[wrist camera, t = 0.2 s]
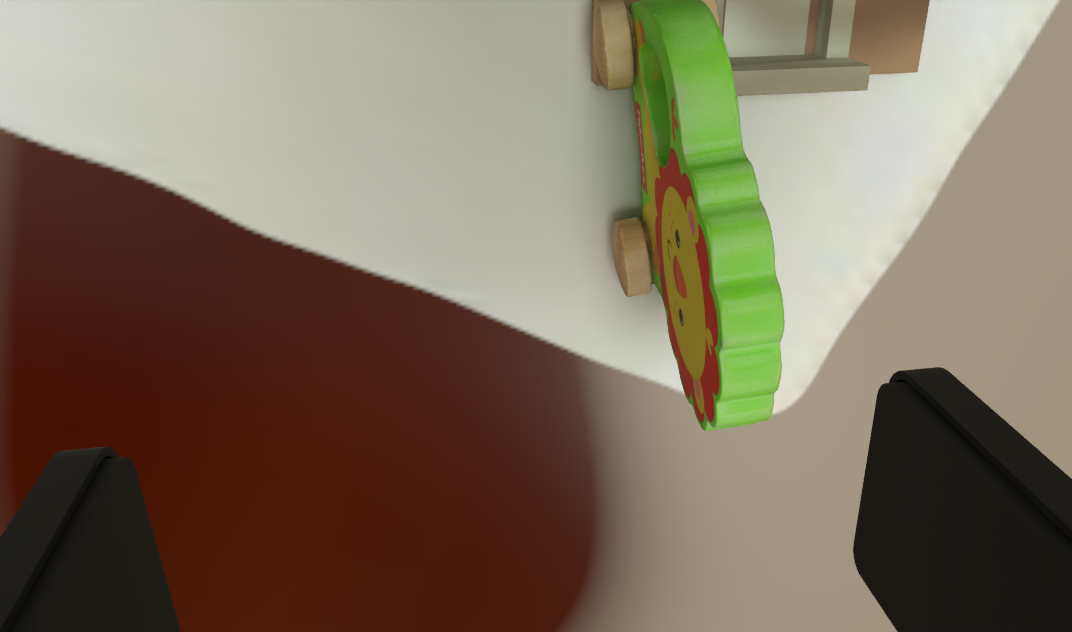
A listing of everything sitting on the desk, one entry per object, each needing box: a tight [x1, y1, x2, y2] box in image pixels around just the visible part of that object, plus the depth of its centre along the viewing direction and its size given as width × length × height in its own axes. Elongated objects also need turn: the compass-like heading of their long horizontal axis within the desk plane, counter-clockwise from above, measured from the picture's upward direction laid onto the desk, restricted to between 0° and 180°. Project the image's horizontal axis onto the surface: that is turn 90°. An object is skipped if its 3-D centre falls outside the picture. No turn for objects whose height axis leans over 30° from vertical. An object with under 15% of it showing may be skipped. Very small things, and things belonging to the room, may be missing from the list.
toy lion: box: [593, 0, 784, 431], centre depth 35 cm, size 16×6×15 cm, turn 8°
